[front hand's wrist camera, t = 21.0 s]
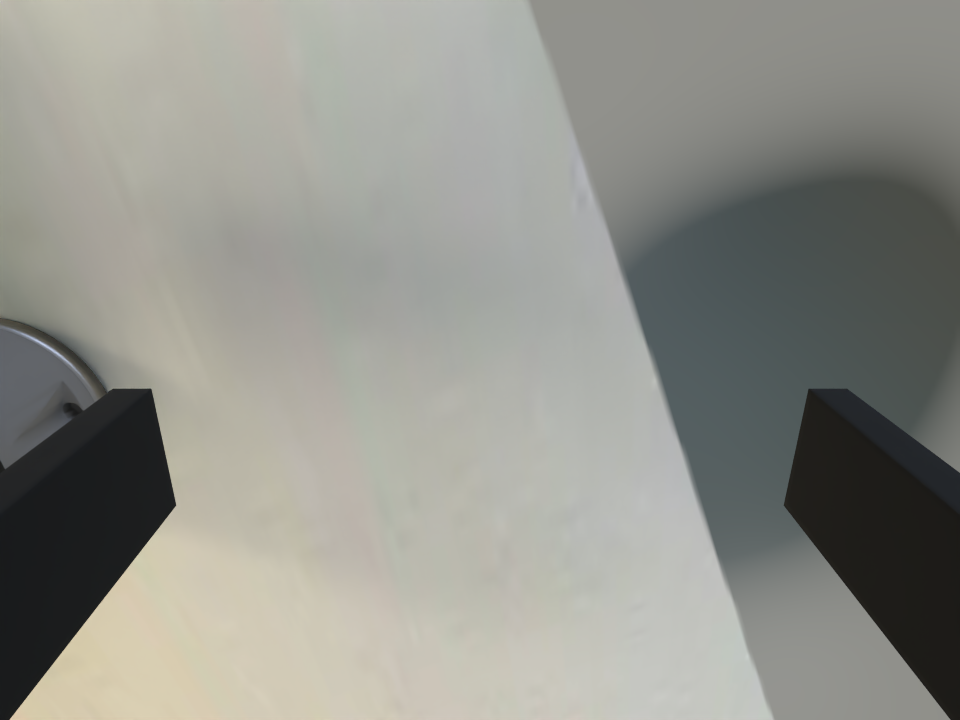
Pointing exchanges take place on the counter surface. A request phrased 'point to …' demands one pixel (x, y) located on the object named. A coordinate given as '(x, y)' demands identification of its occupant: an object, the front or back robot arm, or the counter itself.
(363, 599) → the counter surface
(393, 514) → the counter surface
